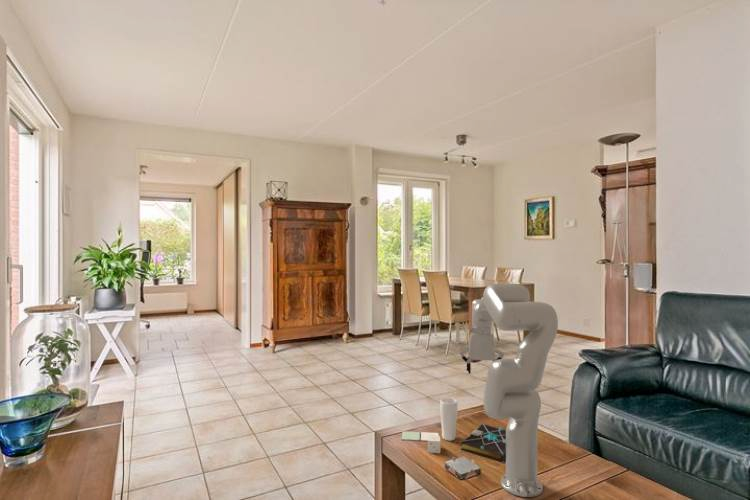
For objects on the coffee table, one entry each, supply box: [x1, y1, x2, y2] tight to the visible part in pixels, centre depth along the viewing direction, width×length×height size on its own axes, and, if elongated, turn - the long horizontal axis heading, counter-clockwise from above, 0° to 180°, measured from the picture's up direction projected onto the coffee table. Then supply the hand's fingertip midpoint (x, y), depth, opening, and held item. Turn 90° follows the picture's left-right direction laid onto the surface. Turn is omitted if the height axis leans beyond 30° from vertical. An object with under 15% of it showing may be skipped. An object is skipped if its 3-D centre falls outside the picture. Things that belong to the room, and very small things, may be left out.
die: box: [427, 435, 441, 454], centre depth 161 cm, size 5×4×5 cm
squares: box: [401, 430, 439, 442], centre depth 172 cm, size 7×14×1 cm, turn 84°
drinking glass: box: [439, 397, 458, 442], centre depth 170 cm, size 7×7×15 cm
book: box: [459, 422, 506, 464], centre depth 165 cm, size 22×17×5 cm
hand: (481, 373), depth 172 cm, fingers open, 9 cm apart
